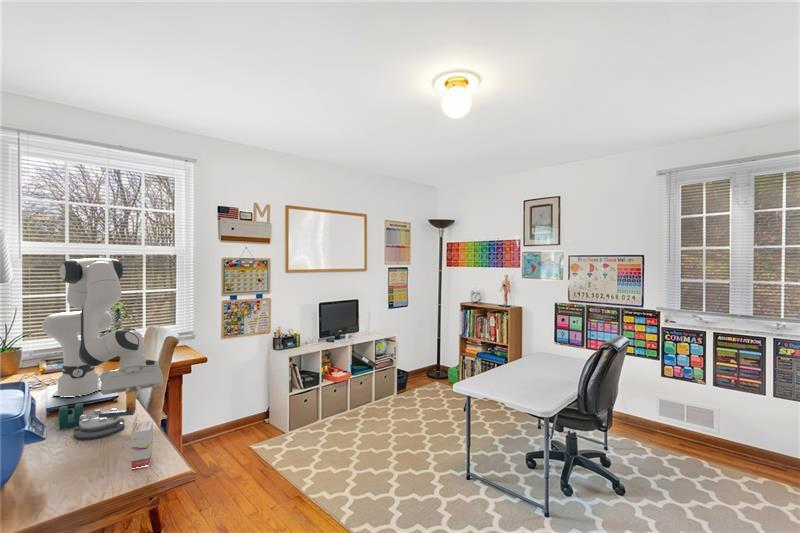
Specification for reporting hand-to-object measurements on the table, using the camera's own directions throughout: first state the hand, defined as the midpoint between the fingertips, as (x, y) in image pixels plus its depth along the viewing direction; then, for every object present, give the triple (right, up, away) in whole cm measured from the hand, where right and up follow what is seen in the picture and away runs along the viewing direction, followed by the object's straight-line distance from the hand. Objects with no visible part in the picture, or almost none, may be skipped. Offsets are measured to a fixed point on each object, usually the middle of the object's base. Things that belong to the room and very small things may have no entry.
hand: (133, 399), depth 148 cm
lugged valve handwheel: (-6, -8, -4) cm, 11 cm away
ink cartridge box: (+21, -11, -26) cm, 35 cm away
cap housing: (-9, -10, -5) cm, 15 cm away
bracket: (-28, -10, +4) cm, 30 cm away
